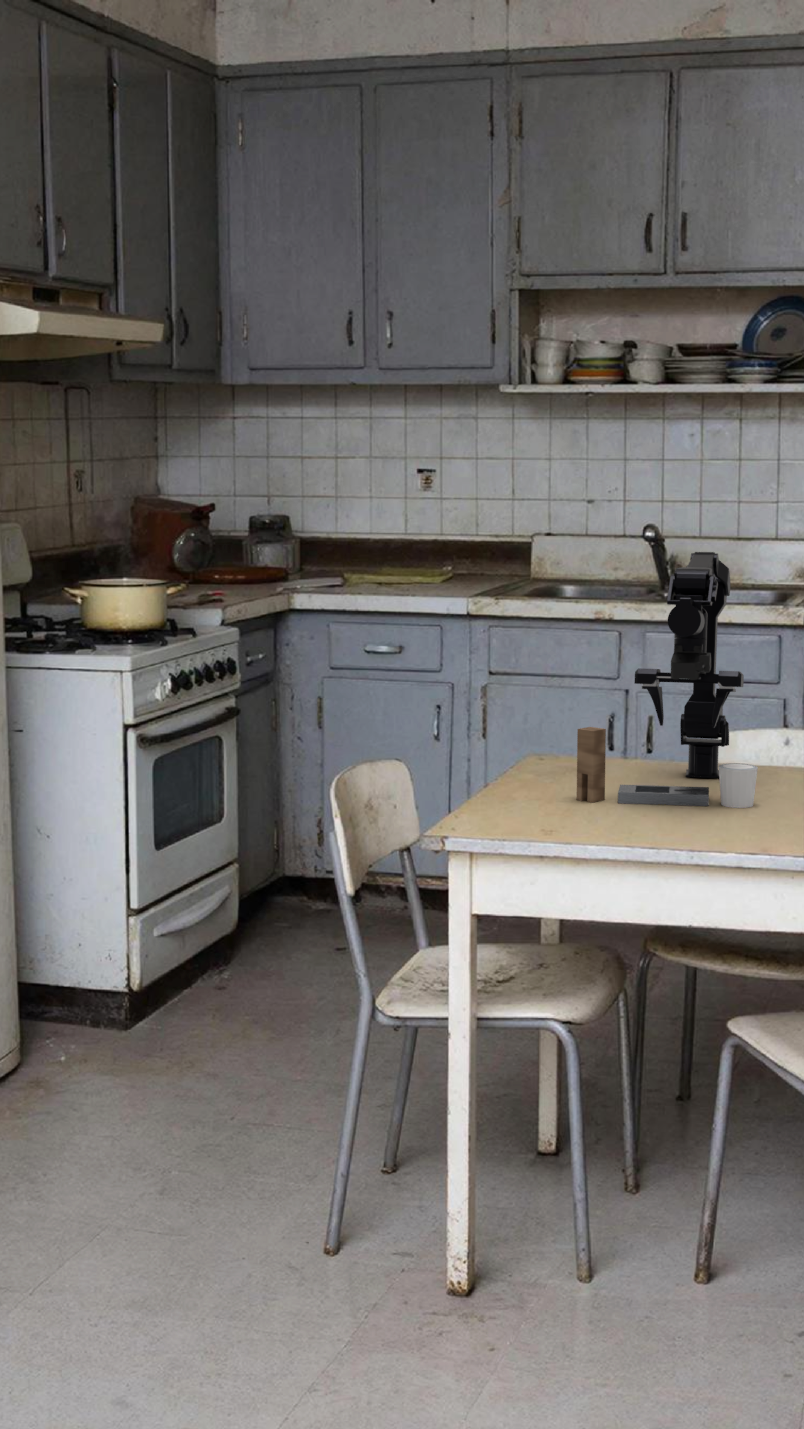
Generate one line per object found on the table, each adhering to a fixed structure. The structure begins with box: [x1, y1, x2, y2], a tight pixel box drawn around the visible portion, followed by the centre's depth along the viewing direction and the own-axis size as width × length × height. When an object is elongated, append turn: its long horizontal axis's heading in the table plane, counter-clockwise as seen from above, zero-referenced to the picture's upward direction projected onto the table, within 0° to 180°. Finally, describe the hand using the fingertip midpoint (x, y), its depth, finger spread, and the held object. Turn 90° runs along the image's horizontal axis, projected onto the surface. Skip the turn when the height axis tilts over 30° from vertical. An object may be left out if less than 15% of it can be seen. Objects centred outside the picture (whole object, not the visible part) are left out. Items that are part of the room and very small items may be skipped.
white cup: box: [718, 762, 758, 809], centre depth 299 cm, size 7×7×7 cm
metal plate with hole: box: [617, 784, 710, 807], centre depth 303 cm, size 8×16×2 cm, turn 80°
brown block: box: [576, 726, 607, 804], centre depth 303 cm, size 4×4×13 cm
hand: (687, 726), depth 299 cm, fingers open, 9 cm apart
